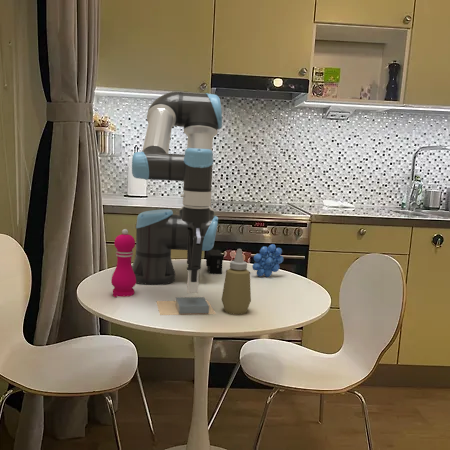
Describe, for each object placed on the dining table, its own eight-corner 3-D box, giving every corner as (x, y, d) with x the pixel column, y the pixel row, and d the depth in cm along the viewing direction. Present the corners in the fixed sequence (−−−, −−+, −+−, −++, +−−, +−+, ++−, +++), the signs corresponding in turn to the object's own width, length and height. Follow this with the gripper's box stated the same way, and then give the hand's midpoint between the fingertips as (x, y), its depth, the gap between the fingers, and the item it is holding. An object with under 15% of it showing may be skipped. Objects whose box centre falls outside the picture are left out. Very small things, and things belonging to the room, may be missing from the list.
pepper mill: (114, 299, 148) (116, 231, 145) (108, 293, 154) (109, 227, 151) (138, 297, 151) (141, 230, 148) (131, 291, 157) (133, 226, 154)
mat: (156, 303, 147) (156, 301, 147) (207, 302, 150) (207, 300, 150) (160, 317, 135) (160, 314, 135) (215, 316, 138) (215, 313, 138)
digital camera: (204, 267, 194) (205, 249, 193) (218, 267, 194) (219, 249, 193) (206, 274, 183) (207, 255, 182) (221, 274, 184) (222, 255, 183)
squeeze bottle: (228, 318, 137) (232, 252, 134) (216, 309, 144) (220, 246, 141) (255, 316, 140) (259, 251, 137) (242, 307, 147) (246, 245, 145)
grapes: (277, 273, 190) (279, 241, 188) (284, 278, 183) (287, 245, 182) (247, 274, 186) (249, 241, 184) (254, 279, 180) (256, 245, 178)
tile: (175, 297, 143) (179, 306, 136) (203, 297, 145) (209, 305, 137) (175, 305, 144) (179, 314, 136) (203, 305, 145) (208, 314, 138)
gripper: (179, 203, 142) (175, 286, 146) (185, 209, 130) (181, 299, 133) (205, 204, 144) (201, 285, 147) (214, 210, 131) (210, 299, 135)
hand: (192, 292), depth 140 cm, fingers closed
